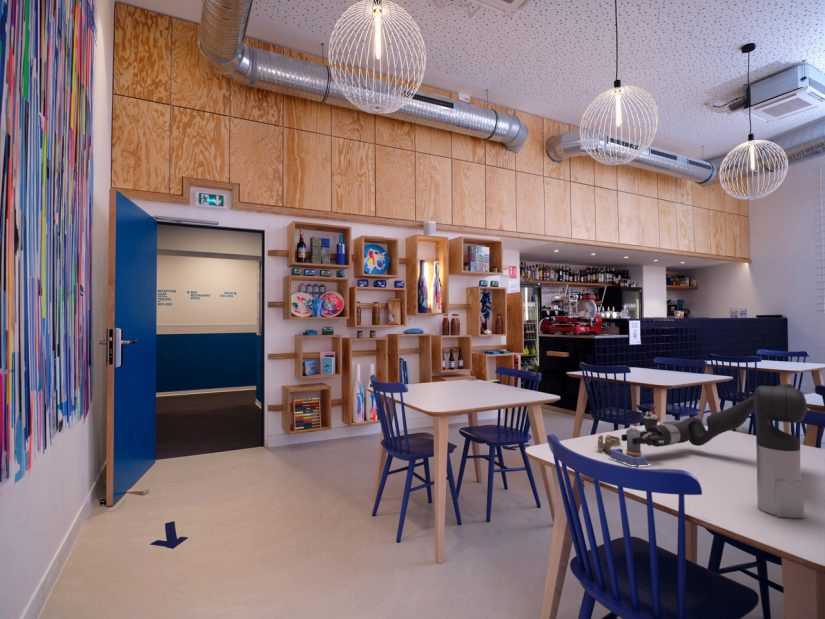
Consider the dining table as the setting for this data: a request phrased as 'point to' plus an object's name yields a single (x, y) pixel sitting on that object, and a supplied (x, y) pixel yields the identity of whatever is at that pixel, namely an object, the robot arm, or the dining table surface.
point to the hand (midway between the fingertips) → (627, 439)
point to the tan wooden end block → (614, 440)
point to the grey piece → (631, 448)
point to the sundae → (650, 418)
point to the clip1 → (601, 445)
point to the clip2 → (606, 439)
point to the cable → (606, 449)
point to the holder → (627, 458)
